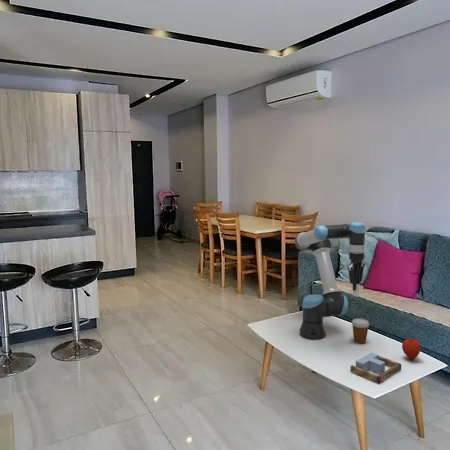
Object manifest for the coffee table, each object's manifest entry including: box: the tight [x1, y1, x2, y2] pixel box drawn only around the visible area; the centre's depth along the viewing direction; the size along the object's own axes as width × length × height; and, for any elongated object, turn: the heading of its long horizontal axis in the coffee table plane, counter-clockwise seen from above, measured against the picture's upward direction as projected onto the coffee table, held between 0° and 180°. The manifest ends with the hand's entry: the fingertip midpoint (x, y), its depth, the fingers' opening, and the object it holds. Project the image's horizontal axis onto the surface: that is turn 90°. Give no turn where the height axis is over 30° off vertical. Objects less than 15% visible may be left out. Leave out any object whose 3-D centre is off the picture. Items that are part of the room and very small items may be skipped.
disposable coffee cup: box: [351, 318, 370, 345], centre depth 225 cm, size 10×10×12 cm
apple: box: [401, 338, 422, 361], centre depth 203 cm, size 9×8×11 cm
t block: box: [355, 351, 386, 375], centre depth 194 cm, size 10×14×5 cm
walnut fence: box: [350, 355, 402, 385], centre depth 193 cm, size 15×20×3 cm
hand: (355, 295), depth 212 cm, fingers closed
